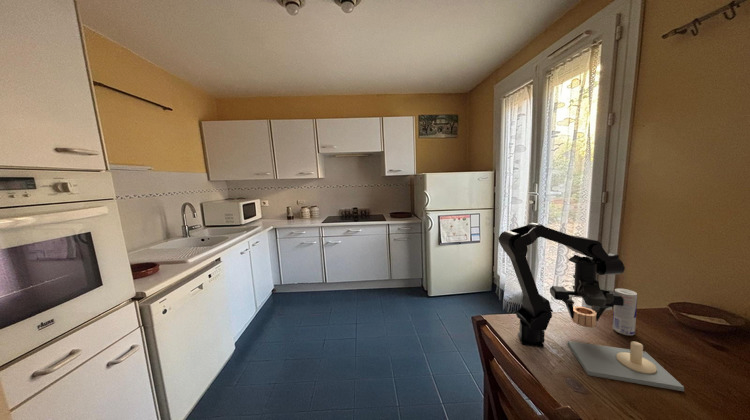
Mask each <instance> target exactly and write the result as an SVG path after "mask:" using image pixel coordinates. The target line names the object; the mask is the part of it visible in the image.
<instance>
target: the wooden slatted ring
mask: <svg viewBox="0 0 750 420" xmlns="http://www.w3.org/2000/svg"><path fill="white" fill-rule="evenodd" d="M573 312H574V316H573V318H571V317H570V318H571V319H570V320H571V321H572V322H573V324H574V323H575V324H576V325H578V326H581V327H584V328H589V329H590V328H596V326H597V322H598V321H597V313H596V312H595V311H594V309H592V308H589V307H585V306H579V305H576V306H573Z"/></svg>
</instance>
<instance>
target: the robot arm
mask: <svg viewBox="0 0 750 420" xmlns="http://www.w3.org/2000/svg"><path fill="white" fill-rule="evenodd" d="M538 238H543V239H545V240H548V241H552V242H555V243H557V244H560V245H563V246H565V247H566V248H568V249H569V250H571V251H572V252H574V253H575V254H574V255H573V256H571V257H570V258H568V262H572V263H574V274H573V275H572V276H573V278H574V284H573V285H572V290H567V289H566V288H565V287H564V286H557V285H556V286H555V285H552V286H551V287H550V288H549V294H550V295H551V296H552V297H553V298H554V300H557V301H562V302H563V303H565V306H566V309H567V311H568V314H569V315H570V318H573V316H574V312H573V307H574V304H575V302H574V300H573V298H582V299H583V301H584V304H586V306H590V307H593V310H594V311H595V312H596V313H597V322H598V321H599V320H600V318H601V316H602V315H603V314H604V312H605V311H606V309H609V308H614V305H618V306H624V298H623V297H622V296H620V295H619V294H618V293H616V292H615V290H607V289H601V287H600V281H599V280H598V275H600V276H605V275H606V276H607V275H621V274H623V273H624V272H625V269H626V266H625V265H624V262H623V261H622V260H621V259H620V256H619V254H616V253H613V252H612V253H607V252H606V251H605V249H604V248H603V243H602V242H601V241H599V240H595V239H592V238H588V237H583V236H580V235H571V234H567V233H564V232H562V231H559V230H555V229H553V228H550V227H547V226H544V225H543V224H540V223H536V222H530V223H527V224H525V225H522V226H518V227H515V228H512V229H510V230H504V231H502V232H501V233H500V235H499V236H498V243H499V245H500V246H501V248H502V250H503V251H504V253H506V255H507V256H508V257H509V260H510V261H511V265H512V268H513V271H514V272H515V275H516V279H517V281H518V284H519V286H520V289H521V292H522V299H521V304H522V305H521V306H520V307H519V308H518V310H516V311H515V315H516V318H517V319H519V332H517V334H518V338H519V340H520V343H521V344H522V345H523V346H530V347H531V346H532V347H537V348H545V345H544V343H545V331H546V330H547V329H548V326H549V324H550V321H551V319H552V318H553V312H554V310H553V309H552V306H551V302H550V300H549V299H548V298H546V297H544V296H543V295H542V294H540V293H539V290H538V288H537V284H536V281H535V279H534V275H533V273H532V271H531V270H532V269H531V267H530V264H529V262H528V259H527V255H528V251H529V249H528V246H530V245H532V244H533V243H535V241H537V240H538ZM577 254H580V255H581V256H580V255H577Z"/></svg>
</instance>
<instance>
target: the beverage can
mask: <svg viewBox="0 0 750 420" xmlns="http://www.w3.org/2000/svg"><path fill="white" fill-rule="evenodd" d="M614 291H615V292H616V293H618V294H619V295H620V296H622V297H623V298H624V306H618V305H614V307H613V314H612V329H613V330H614V331H615V332H617V334H618V333H619V334H621V335H623V336H634V335H635V334H636V322H637V321H636V319H637V305H638V293H637V292H636V291H634V290H632V289H626V288H614Z"/></svg>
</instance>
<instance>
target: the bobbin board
mask: <svg viewBox="0 0 750 420" xmlns="http://www.w3.org/2000/svg"><path fill="white" fill-rule="evenodd" d="M567 346H568V347H569V349H570V350H571V352H572V354H573V355H574V356H575V359H577V361H578V362H579V364H580V366H581V367H582V369H583V370H584V372H585V373H586V374H587V376H591V377H596V378H603V379H609V380H615V381H619V382H620V381H621V382H626V383H633V384H638V385H642V386H643V385H645V386H650V387H655V388H660V389H668V390H673V391H678V392H679V391H680V392H685V386H684V385H682V383H681V382H680V381H679V380H677V379H676V378H675V377H674V376H673V375H672V374H671V373H670V372H668V371H667V370H666V369H665V368H664V367H663V366H662V365H661V364H660V363H658V361H656V360H655V359H654V358H653V357H652V356H651V355H650V354H649V353H648V352H646V351H644V345H643V344H642V343H640V342H638V341H630V347H629V348H630V349H629V348H621V347H614V346H609V345H600V344H593V343H586V342H578V341H571V340H567Z"/></svg>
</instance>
